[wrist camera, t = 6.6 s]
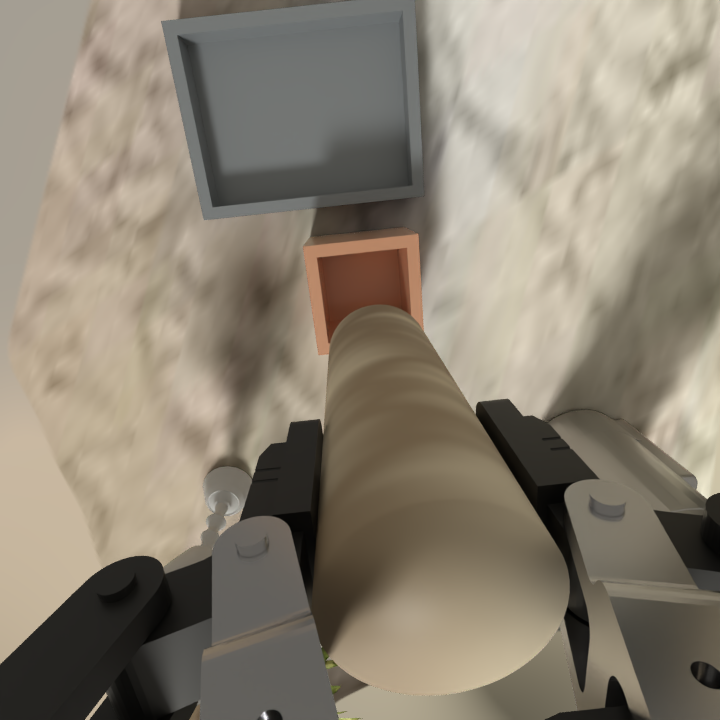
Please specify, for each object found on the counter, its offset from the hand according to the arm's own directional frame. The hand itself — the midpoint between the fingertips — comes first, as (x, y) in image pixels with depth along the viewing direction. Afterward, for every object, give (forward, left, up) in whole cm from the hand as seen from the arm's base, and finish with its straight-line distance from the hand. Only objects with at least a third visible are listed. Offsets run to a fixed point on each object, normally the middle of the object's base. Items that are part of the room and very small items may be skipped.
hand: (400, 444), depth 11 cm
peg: (0, 0, -7) cm, 7 cm away
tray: (+3, -11, -27) cm, 30 cm away
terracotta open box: (0, +1, -27) cm, 27 cm away
